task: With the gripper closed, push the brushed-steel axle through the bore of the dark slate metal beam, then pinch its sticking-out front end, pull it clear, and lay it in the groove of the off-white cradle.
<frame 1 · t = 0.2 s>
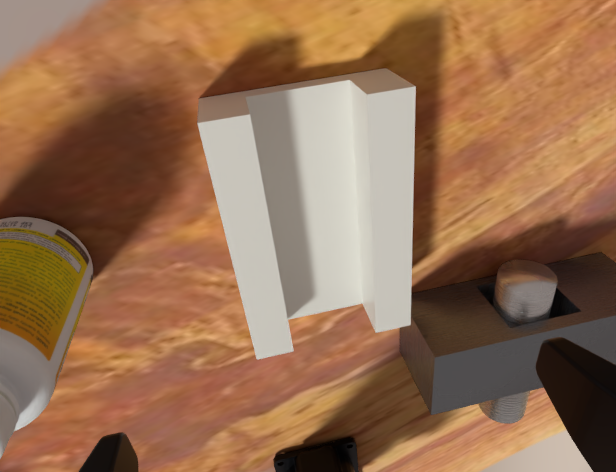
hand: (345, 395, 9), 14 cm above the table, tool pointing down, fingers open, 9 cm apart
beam: (498, 302, 30), on the table
axle: (512, 346, 30), point 2 cm above the table, touching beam
supplement bottle: (36, 258, 22), on the table
cradle: (309, 208, 24), on the table
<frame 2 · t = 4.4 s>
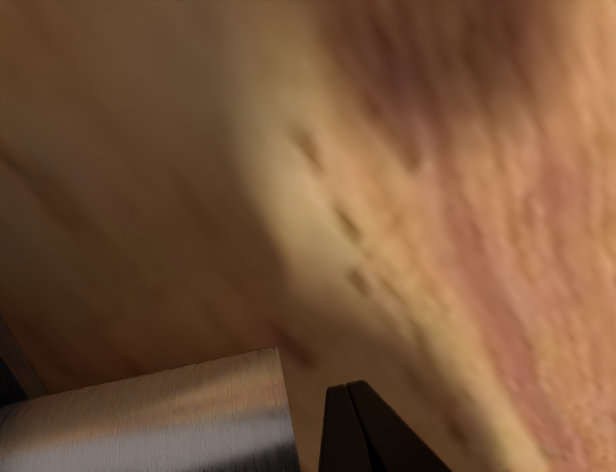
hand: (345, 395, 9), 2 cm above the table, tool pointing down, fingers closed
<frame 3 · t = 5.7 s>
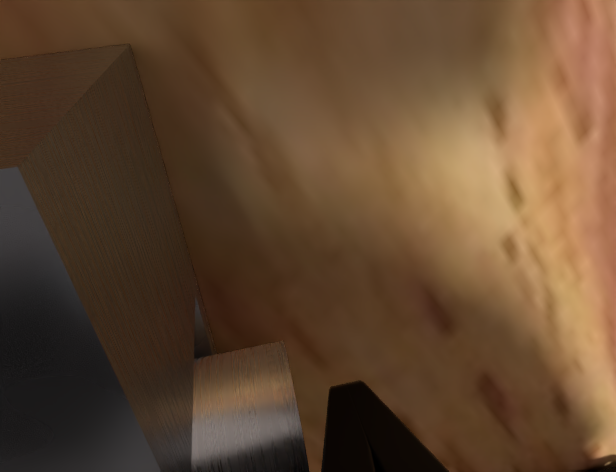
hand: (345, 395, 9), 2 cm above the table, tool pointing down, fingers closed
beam: (110, 371, 11), on the table
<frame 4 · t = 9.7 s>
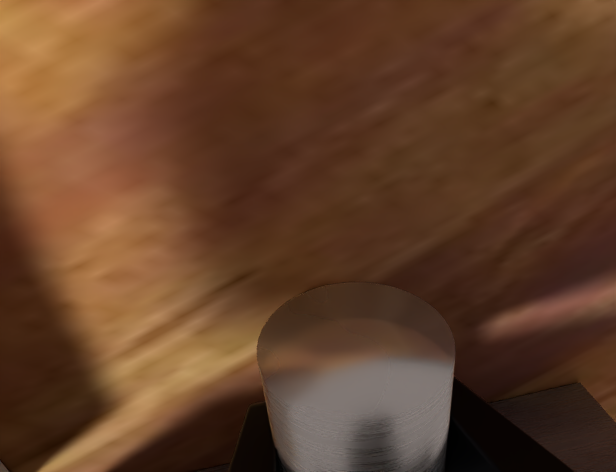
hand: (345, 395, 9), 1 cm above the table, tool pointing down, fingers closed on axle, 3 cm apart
when the fingers open (4 cm above the table, at t = 15.4 s): axle drops 3 cm, resting on cradle.
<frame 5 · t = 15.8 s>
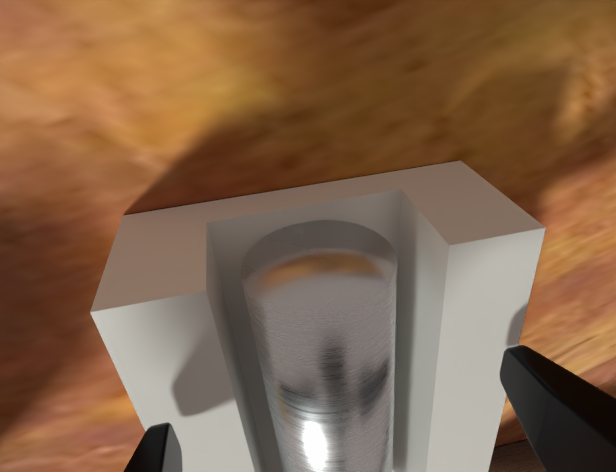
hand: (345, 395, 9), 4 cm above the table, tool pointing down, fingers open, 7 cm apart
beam: (577, 456, 21), on the table
axle: (334, 434, 12), point 3 cm above the table, touching cradle
cradle: (318, 365, 15), on the table
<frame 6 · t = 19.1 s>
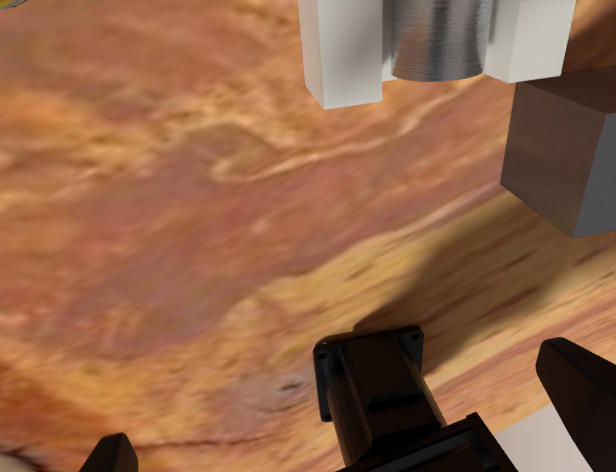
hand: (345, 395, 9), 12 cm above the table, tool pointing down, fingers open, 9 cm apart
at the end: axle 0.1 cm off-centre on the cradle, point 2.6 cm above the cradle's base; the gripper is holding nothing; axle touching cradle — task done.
